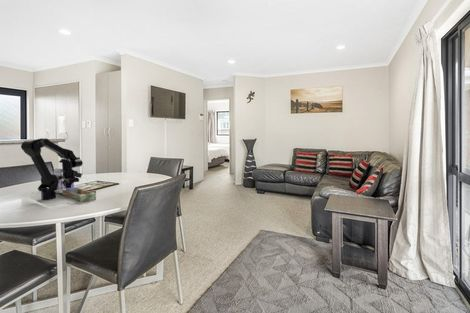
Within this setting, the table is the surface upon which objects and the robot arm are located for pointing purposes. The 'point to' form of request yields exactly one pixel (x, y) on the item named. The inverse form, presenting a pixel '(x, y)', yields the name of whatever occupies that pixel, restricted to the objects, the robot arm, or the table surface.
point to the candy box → (60, 185)
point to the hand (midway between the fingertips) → (68, 191)
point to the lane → (81, 195)
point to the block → (72, 190)
